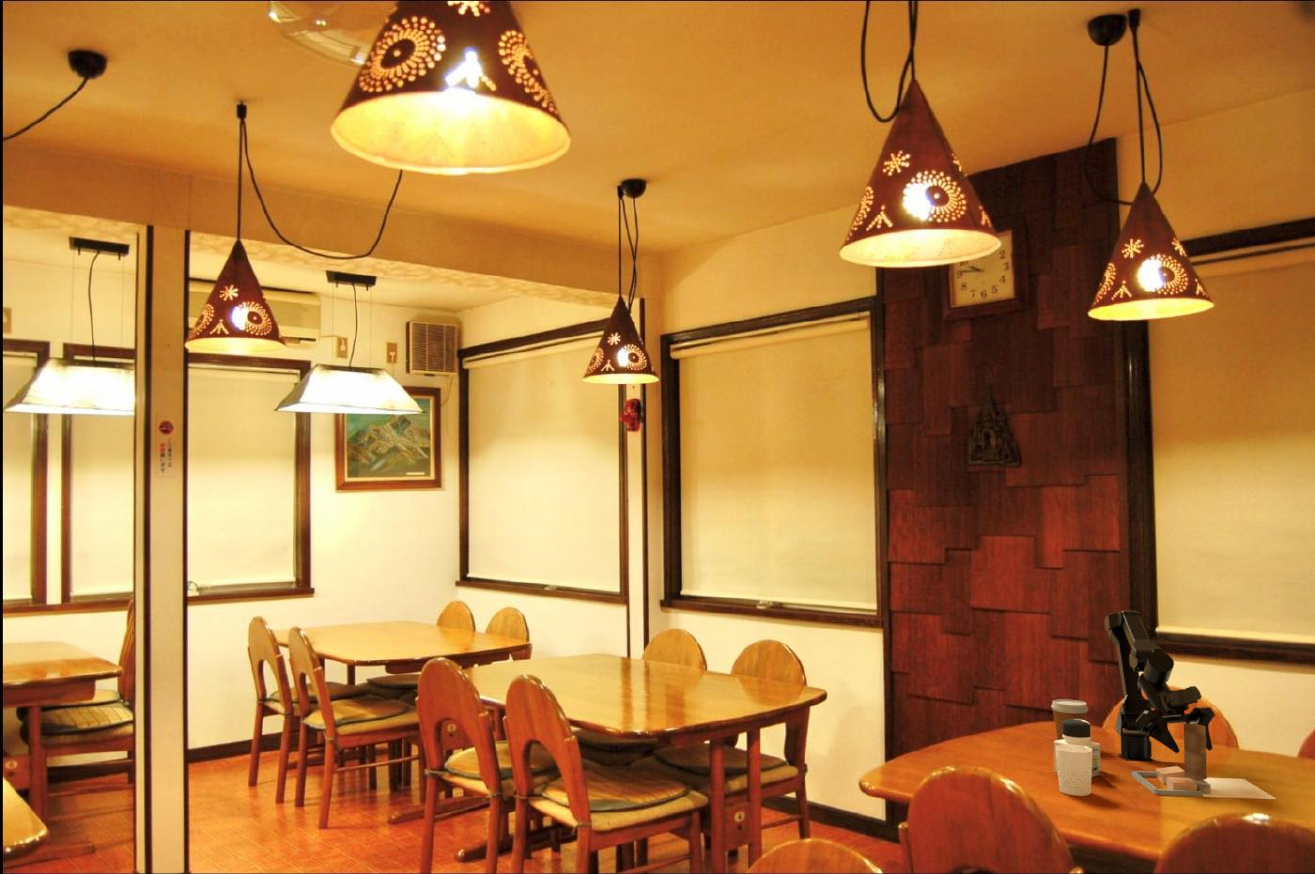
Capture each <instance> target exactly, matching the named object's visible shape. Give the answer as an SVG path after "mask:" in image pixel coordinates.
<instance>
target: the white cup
mask: <svg viewBox="0 0 1315 874" xmlns="http://www.w3.org/2000/svg"><path fill="white" fill-rule="evenodd" d="M1056 757H1057V772H1058V773H1057V772H1056V773H1057V779H1058V784H1059V785H1058V787H1059V792H1060V793H1062V794H1064V795H1068V796H1074V797H1087V796H1089V795H1091V792H1092V788H1091V786H1092V784H1091V783H1092V749H1091V748H1089V747H1085V746H1080V745H1070V744H1064V745H1058V746H1056Z"/></svg>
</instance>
